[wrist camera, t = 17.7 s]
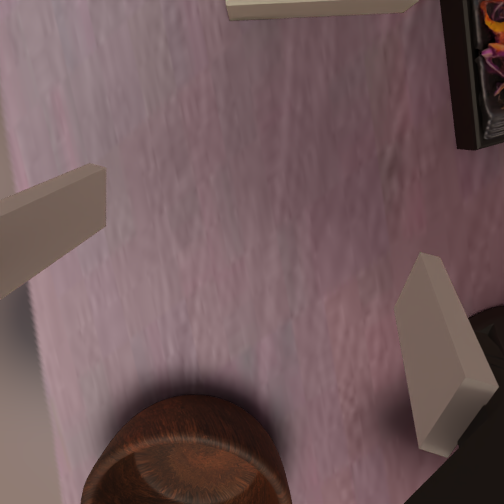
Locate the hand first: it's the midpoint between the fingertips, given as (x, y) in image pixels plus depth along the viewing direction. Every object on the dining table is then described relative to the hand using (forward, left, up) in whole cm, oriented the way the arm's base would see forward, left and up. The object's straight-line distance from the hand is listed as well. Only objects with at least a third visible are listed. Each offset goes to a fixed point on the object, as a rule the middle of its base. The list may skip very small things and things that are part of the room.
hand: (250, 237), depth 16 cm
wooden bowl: (+9, +39, -28) cm, 49 cm away
